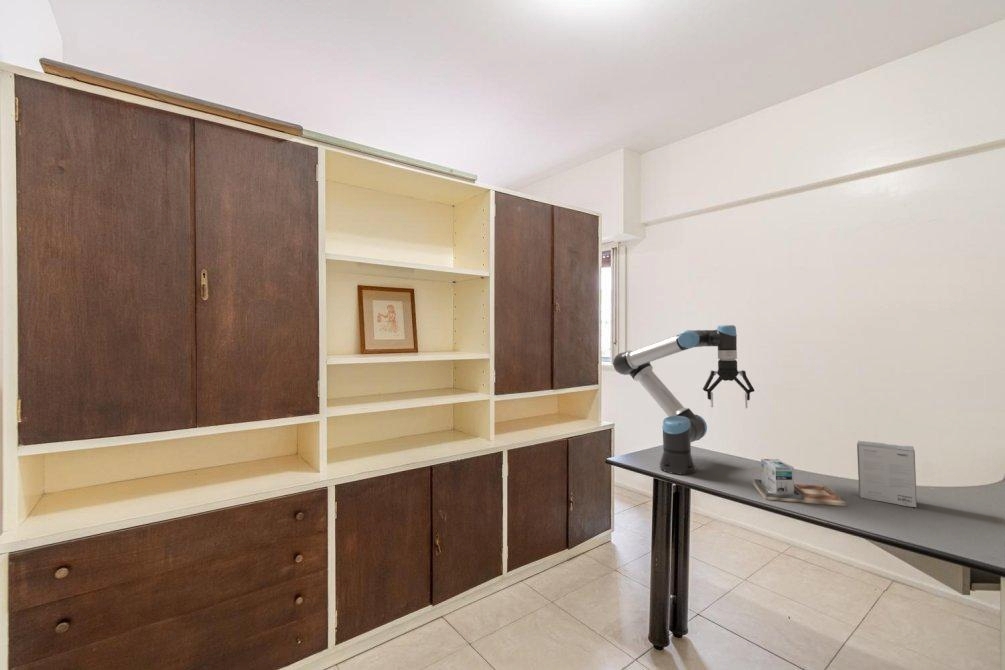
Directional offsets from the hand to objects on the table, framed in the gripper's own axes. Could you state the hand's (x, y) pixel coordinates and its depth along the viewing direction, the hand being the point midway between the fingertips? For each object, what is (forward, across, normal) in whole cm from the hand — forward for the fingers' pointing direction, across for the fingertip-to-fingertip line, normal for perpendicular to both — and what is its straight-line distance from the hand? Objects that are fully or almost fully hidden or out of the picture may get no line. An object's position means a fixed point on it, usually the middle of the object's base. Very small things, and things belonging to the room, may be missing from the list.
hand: (728, 407), depth 186 cm
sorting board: (+29, +18, -23) cm, 41 cm away
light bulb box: (+28, +12, -23) cm, 38 cm away
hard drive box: (+29, +47, -21) cm, 59 cm away
